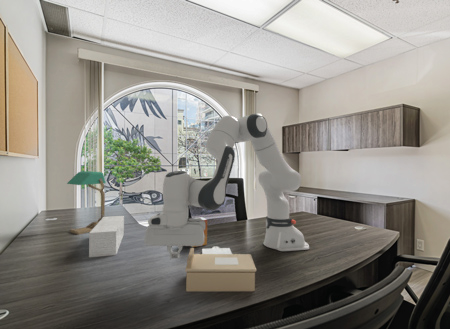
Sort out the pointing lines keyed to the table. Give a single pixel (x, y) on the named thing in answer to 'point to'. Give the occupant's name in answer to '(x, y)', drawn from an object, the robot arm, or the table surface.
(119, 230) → the stack of papers
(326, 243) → the table surface
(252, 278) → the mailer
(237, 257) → the lid
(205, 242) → the small box
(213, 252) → the mounting plate
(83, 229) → the banker's lamp
